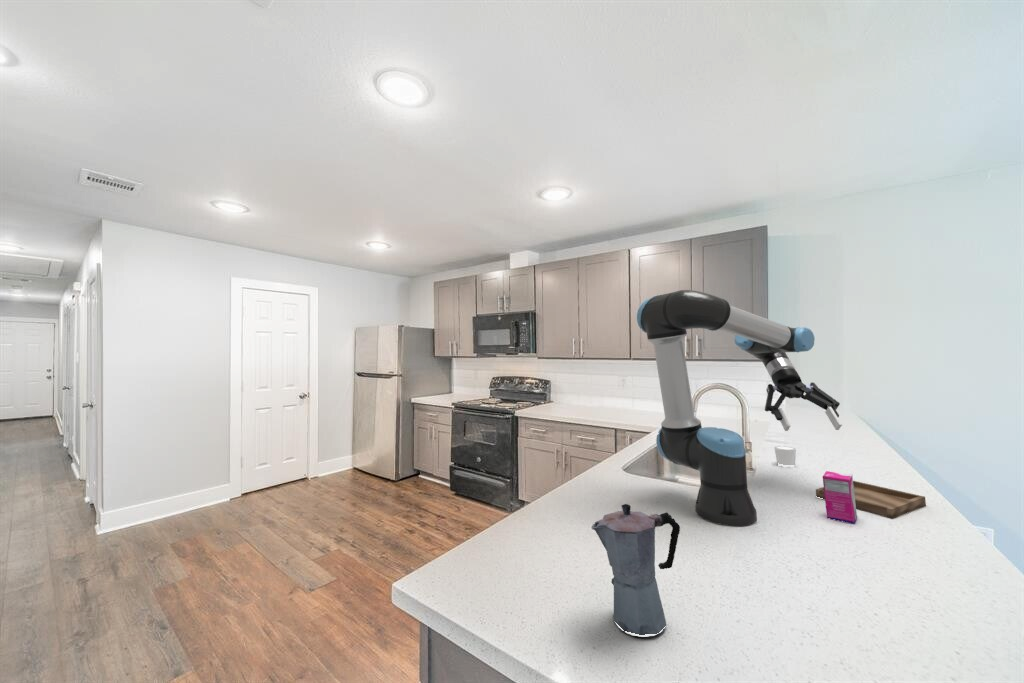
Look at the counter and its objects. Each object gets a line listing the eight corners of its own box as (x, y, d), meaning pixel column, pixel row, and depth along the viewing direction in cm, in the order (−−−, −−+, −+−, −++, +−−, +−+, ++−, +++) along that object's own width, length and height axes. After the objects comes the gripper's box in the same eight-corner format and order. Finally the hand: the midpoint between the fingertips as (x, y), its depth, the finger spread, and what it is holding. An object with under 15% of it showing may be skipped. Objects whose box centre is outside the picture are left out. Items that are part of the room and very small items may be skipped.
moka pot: (589, 607, 72) (584, 497, 73) (669, 599, 73) (663, 491, 74) (606, 645, 62) (599, 518, 63) (698, 635, 64) (690, 511, 64)
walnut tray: (892, 518, 102) (891, 509, 102) (816, 497, 119) (815, 489, 119) (925, 505, 109) (925, 496, 110) (849, 487, 126) (848, 479, 126)
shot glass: (800, 468, 147) (799, 450, 148) (780, 468, 149) (779, 449, 149) (791, 463, 154) (790, 445, 154) (772, 463, 156) (771, 445, 156)
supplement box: (829, 511, 108) (826, 470, 109) (857, 517, 104) (854, 474, 104) (825, 518, 104) (822, 475, 105) (854, 524, 100) (851, 479, 100)
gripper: (821, 380, 131) (855, 434, 116) (740, 383, 136) (763, 435, 120) (829, 365, 126) (866, 419, 111) (745, 368, 131) (770, 421, 115)
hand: (813, 428), depth 116 cm, fingers open, 13 cm apart
